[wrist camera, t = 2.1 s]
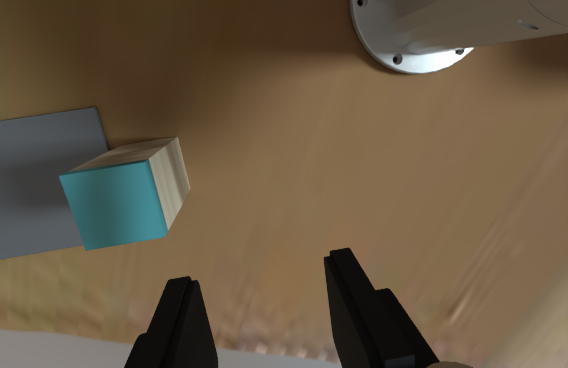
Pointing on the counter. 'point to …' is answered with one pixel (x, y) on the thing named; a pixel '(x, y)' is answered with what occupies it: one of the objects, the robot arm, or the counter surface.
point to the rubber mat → (43, 178)
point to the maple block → (127, 193)
